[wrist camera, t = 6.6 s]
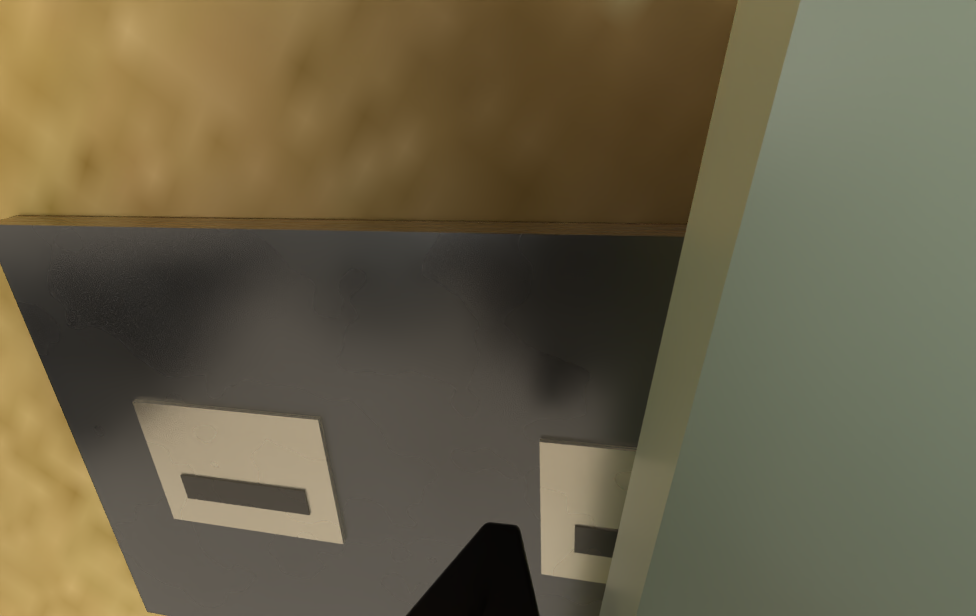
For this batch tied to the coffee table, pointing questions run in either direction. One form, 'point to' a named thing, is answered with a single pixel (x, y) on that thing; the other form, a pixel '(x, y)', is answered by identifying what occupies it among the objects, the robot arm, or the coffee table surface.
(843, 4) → the swing arm
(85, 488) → the coffee table surface
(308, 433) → the label panel
